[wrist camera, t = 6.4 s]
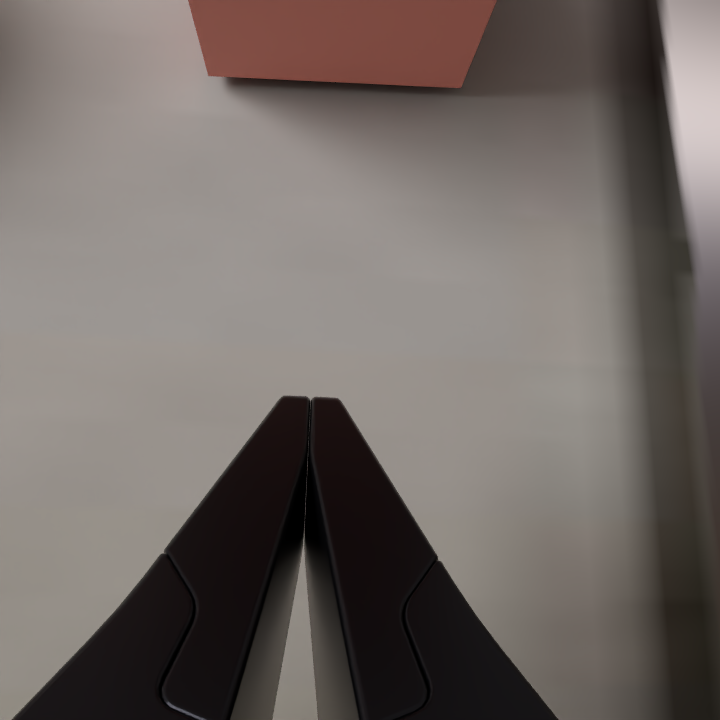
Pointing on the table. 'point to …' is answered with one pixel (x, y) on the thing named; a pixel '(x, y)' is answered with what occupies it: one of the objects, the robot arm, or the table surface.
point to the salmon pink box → (342, 39)
